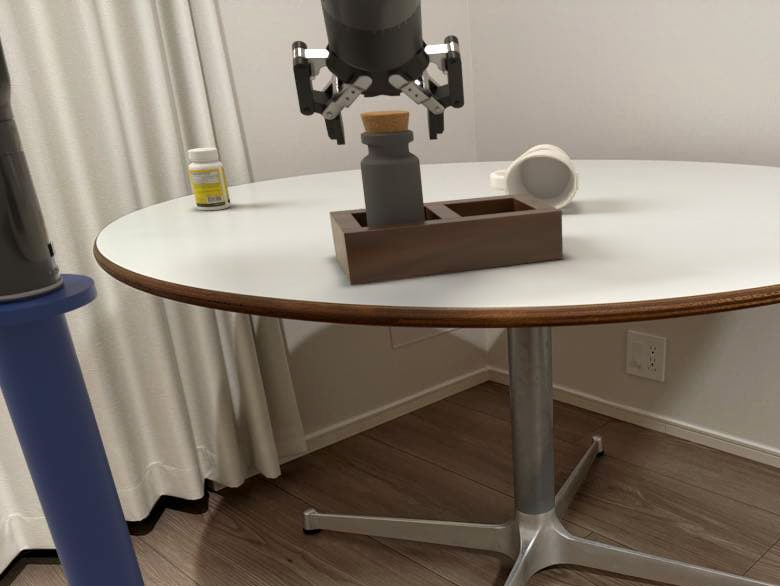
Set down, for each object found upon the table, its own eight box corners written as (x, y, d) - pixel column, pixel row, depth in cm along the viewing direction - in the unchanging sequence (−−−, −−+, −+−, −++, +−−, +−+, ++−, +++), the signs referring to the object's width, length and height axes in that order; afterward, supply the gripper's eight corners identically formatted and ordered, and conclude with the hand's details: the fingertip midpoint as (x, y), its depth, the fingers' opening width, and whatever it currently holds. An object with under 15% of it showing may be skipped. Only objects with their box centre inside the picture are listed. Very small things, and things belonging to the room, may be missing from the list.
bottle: (417, 254, 86) (402, 108, 80) (437, 265, 82) (424, 111, 75) (365, 262, 84) (346, 112, 78) (383, 274, 79) (364, 115, 73)
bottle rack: (563, 258, 83) (562, 210, 80) (350, 285, 76) (343, 233, 74) (525, 236, 93) (523, 193, 91) (335, 257, 86) (329, 211, 84)
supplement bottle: (212, 204, 120) (200, 147, 117) (237, 205, 119) (226, 147, 116) (190, 210, 116) (177, 151, 113) (216, 211, 115) (204, 151, 111)
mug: (579, 201, 112) (579, 142, 109) (578, 214, 104) (577, 151, 101) (496, 203, 113) (493, 145, 110) (488, 216, 105) (484, 153, 102)
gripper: (458, -49, 62) (457, 100, 77) (270, -46, 60) (307, 107, 75) (470, 24, 59) (466, 163, 74) (273, 30, 57) (311, 172, 72)
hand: (386, 135), depth 74 cm, fingers open, 8 cm apart
